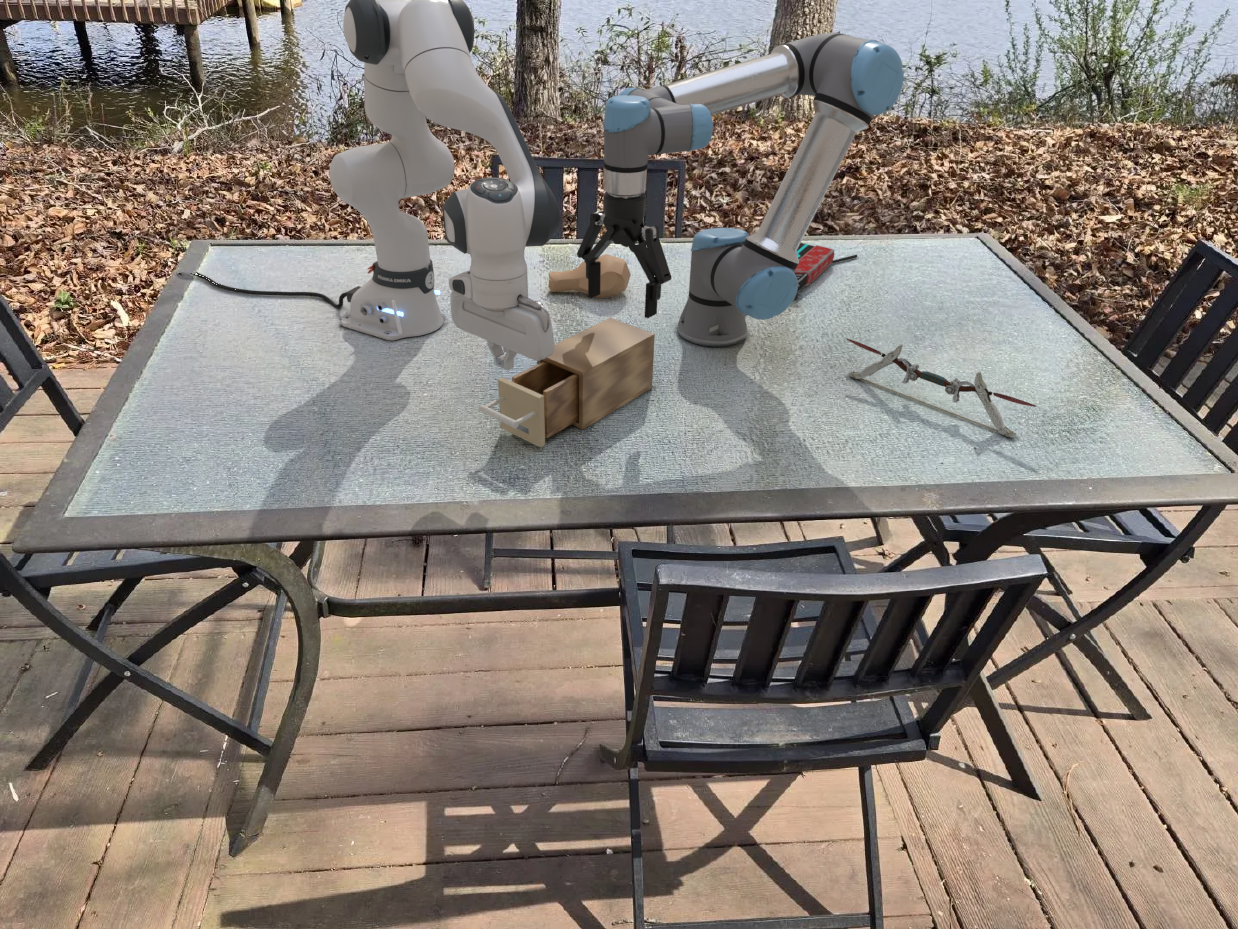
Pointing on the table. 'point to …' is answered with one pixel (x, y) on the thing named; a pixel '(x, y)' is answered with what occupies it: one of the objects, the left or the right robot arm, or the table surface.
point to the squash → (610, 283)
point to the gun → (811, 263)
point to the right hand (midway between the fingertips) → (621, 305)
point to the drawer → (537, 402)
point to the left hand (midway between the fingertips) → (504, 366)
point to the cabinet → (606, 366)
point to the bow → (950, 387)
